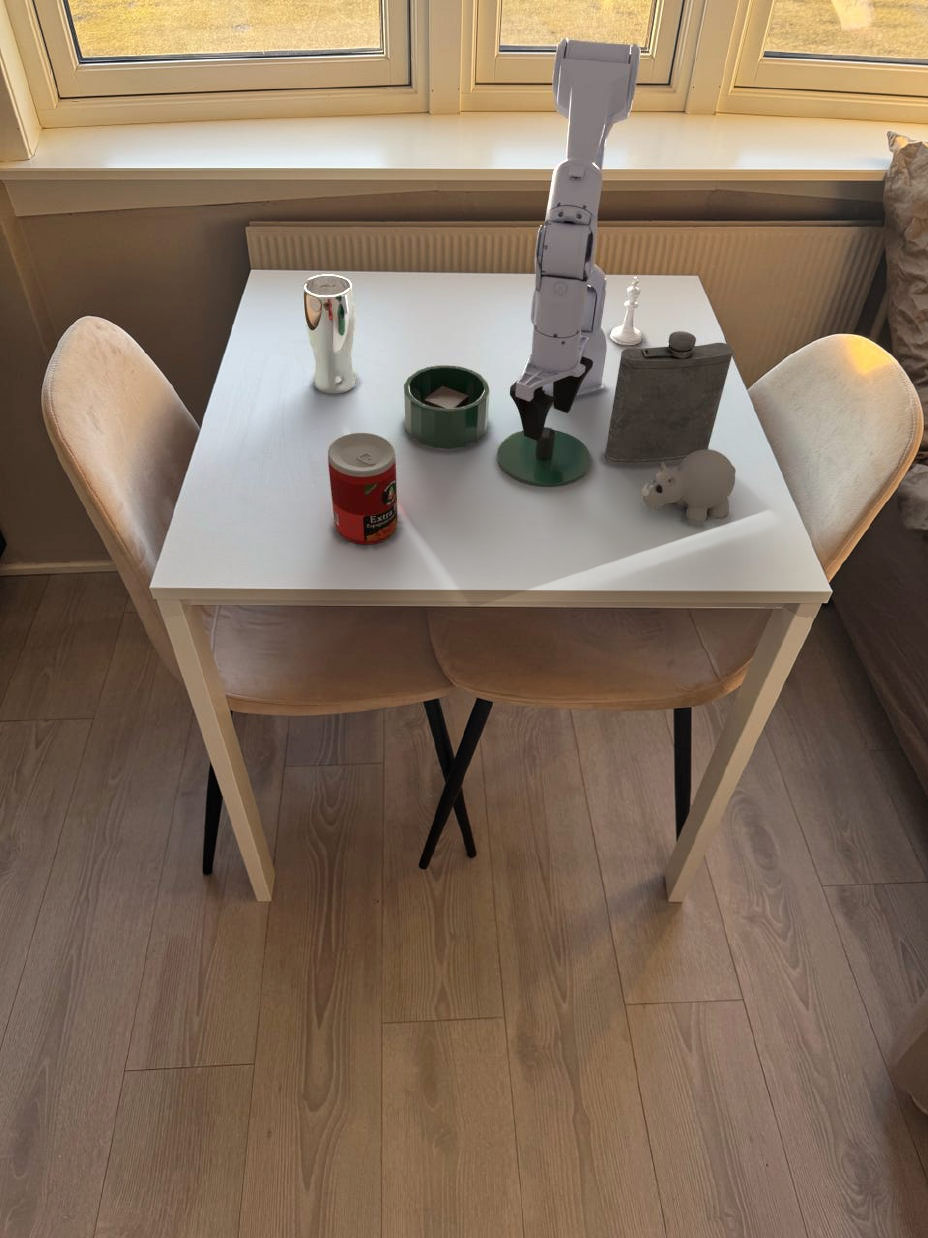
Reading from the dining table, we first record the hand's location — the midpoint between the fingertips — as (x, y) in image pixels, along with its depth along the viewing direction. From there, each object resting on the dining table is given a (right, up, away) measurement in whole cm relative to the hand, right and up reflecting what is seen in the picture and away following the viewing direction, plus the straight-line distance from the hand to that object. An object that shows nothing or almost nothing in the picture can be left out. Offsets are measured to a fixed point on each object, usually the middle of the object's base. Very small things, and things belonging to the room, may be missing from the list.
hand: (547, 423), depth 120 cm
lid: (0, -4, +4) cm, 6 cm away
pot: (-13, +1, +9) cm, 16 cm away
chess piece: (+15, +20, +28) cm, 38 cm away
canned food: (-23, -14, -6) cm, 27 cm away
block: (-13, +2, +9) cm, 16 cm away
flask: (+15, -4, +6) cm, 17 cm away
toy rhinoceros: (+17, -12, -2) cm, 21 cm away
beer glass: (-30, +9, +17) cm, 35 cm away
